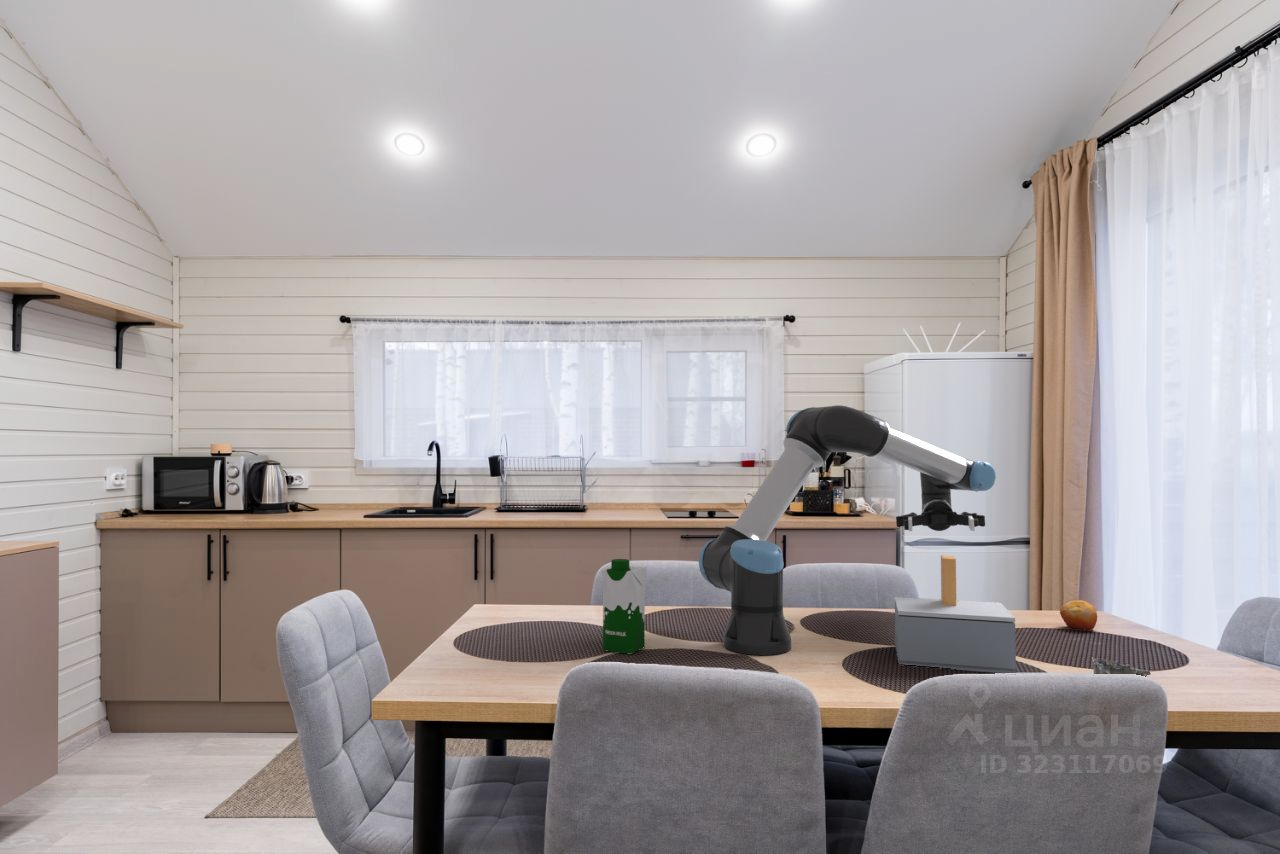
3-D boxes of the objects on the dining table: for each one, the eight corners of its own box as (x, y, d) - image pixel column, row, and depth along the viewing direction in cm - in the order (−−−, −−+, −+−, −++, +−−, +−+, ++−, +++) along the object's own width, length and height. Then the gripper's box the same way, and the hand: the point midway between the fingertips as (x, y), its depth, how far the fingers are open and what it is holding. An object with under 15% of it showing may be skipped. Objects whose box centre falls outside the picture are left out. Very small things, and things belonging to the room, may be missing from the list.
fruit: (1097, 620, 189) (1097, 596, 186) (1097, 642, 183) (1096, 617, 180) (1061, 616, 193) (1060, 592, 190) (1060, 637, 188) (1058, 613, 184)
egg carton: (1153, 695, 136) (1153, 672, 136) (1107, 691, 138) (1106, 668, 138) (1132, 677, 146) (1132, 656, 146) (1089, 674, 148) (1089, 653, 148)
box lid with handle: (898, 614, 154) (897, 562, 154) (894, 600, 169) (894, 552, 169) (1015, 621, 147) (1014, 567, 148) (1000, 606, 163) (999, 556, 163)
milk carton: (597, 651, 163) (597, 560, 163) (615, 642, 171) (616, 555, 172) (633, 656, 159) (633, 562, 160) (650, 646, 167) (650, 557, 168)
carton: (898, 665, 153) (898, 616, 154) (895, 646, 168) (894, 601, 169) (1016, 674, 147) (1015, 623, 147) (1001, 653, 162) (1000, 607, 163)
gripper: (991, 528, 190) (1000, 541, 171) (888, 529, 199) (886, 541, 179) (989, 499, 191) (998, 508, 171) (887, 501, 199) (884, 510, 179)
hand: (940, 525), depth 175 cm, fingers open, 13 cm apart
